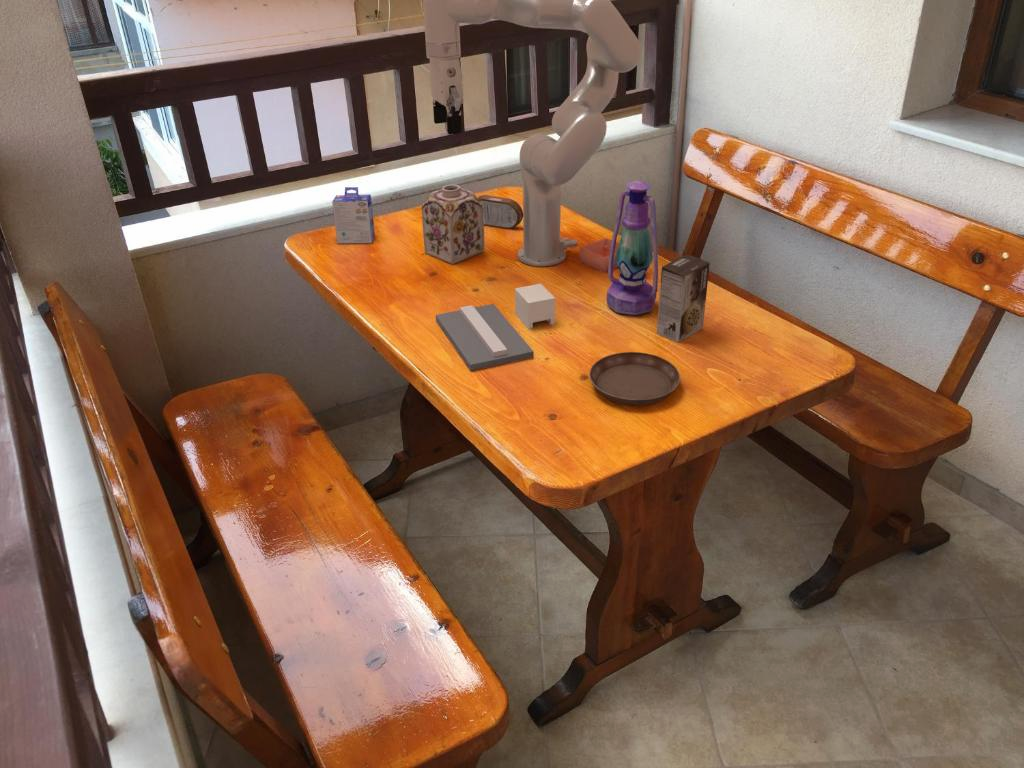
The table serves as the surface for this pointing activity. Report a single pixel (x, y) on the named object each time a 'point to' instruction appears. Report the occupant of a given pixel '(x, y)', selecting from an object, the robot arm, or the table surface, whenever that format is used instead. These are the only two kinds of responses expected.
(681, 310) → the coffee box
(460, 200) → the decorative jar
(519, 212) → the tin
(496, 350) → the rail board
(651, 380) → the plant saucer
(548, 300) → the block
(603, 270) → the pottery
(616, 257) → the lantern
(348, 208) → the ink cartridge box
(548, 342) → the table surface
